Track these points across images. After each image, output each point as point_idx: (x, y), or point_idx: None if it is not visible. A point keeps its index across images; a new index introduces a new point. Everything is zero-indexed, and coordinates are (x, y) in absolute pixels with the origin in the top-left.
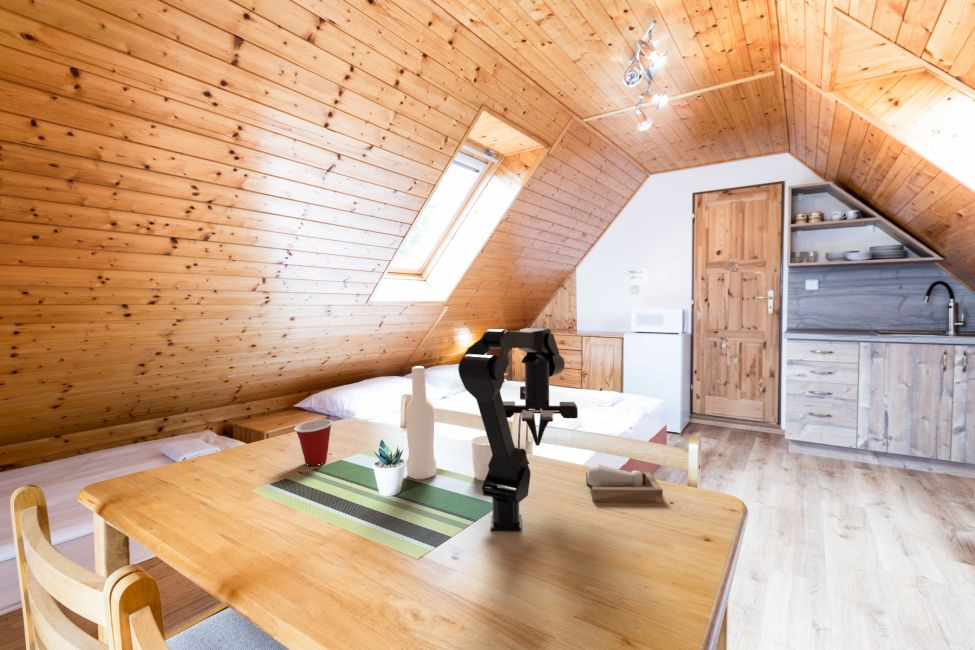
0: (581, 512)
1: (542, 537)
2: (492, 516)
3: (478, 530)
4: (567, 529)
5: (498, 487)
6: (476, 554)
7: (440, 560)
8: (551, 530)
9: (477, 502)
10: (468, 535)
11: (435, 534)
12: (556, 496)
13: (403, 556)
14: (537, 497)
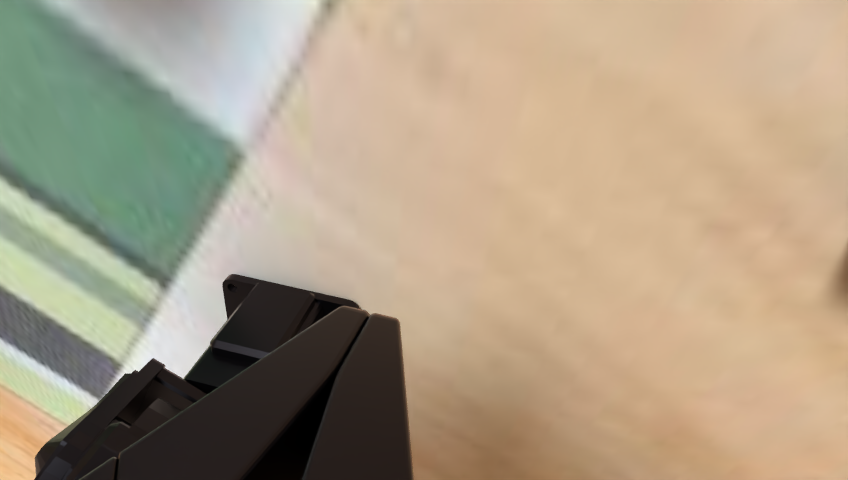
0: (692, 321)
1: (434, 442)
2: (227, 297)
3: (198, 350)
4: (549, 426)
5: (173, 401)
6: None
7: None
8: (479, 415)
9: (119, 102)
10: (173, 370)
11: (64, 339)
12: (626, 88)
13: (39, 415)
14: (480, 85)
